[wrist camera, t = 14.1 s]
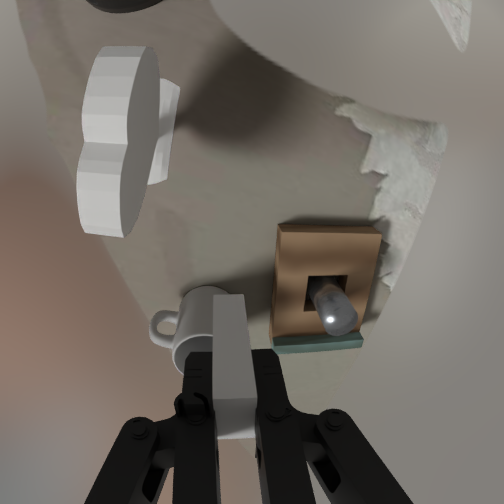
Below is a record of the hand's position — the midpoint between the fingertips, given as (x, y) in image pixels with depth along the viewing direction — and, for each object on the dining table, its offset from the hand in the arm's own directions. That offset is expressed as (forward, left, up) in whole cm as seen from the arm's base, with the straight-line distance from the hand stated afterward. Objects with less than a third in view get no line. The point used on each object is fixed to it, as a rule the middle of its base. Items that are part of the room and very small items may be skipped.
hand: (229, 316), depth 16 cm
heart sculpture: (-8, -9, -26) cm, 29 cm away
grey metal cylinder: (+13, +14, -26) cm, 32 cm away
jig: (+13, +14, -26) cm, 32 cm away
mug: (+17, -4, -26) cm, 31 cm away
